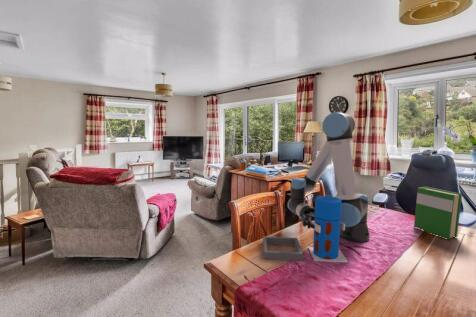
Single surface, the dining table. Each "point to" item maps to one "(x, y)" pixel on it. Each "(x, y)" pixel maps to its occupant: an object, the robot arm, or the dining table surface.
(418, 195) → the hardback book
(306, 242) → the dining table surface
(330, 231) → the thermos
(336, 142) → the robot arm
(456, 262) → the dining table surface
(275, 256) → the collar
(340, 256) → the mat
